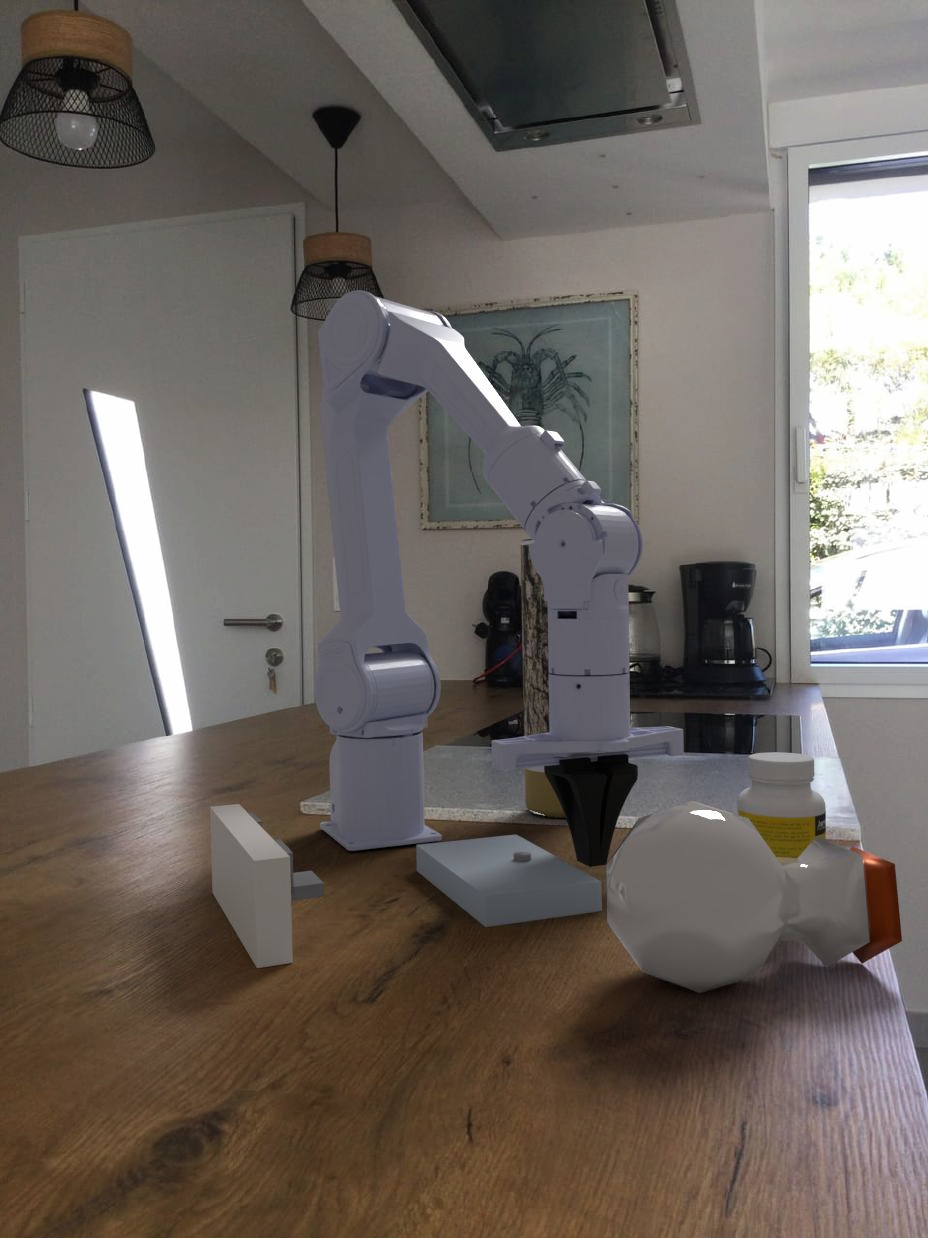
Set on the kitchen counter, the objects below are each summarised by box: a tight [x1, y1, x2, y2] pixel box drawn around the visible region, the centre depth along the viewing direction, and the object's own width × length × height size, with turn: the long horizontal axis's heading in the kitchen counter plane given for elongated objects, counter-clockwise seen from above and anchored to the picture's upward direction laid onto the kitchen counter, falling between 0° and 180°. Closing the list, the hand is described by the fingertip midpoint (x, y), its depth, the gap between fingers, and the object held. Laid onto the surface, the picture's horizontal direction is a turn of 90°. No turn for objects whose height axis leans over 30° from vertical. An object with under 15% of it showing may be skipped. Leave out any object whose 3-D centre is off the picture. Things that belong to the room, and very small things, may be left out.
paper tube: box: [520, 538, 600, 819], centre depth 97 cm, size 7×7×25 cm
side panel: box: [209, 803, 325, 969], centre depth 67 cm, size 16×4×6 cm, turn 22°
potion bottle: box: [605, 800, 903, 994], centre depth 56 cm, size 9×10×15 cm
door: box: [415, 834, 603, 928], centre depth 73 cm, size 14×8×3 cm, turn 20°
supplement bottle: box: [736, 751, 827, 858], centre depth 67 cm, size 5×5×10 cm
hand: (591, 862), depth 75 cm, fingers closed
